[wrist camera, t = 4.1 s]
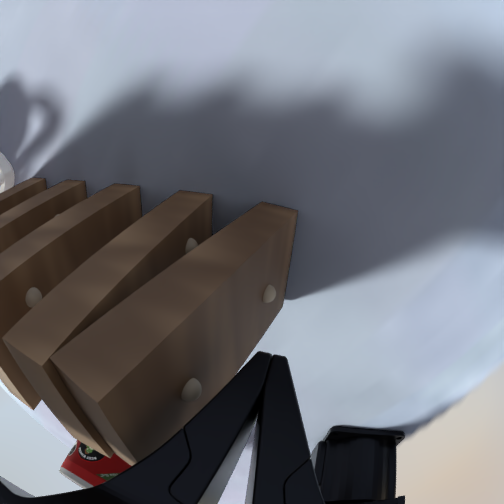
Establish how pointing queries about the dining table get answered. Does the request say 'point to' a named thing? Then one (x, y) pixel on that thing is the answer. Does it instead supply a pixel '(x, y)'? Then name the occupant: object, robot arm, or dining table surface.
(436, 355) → the dining table surface
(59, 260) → the tile
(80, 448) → the canned food
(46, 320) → the tile
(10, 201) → the tile
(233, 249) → the tile
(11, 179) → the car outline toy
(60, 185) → the tile
